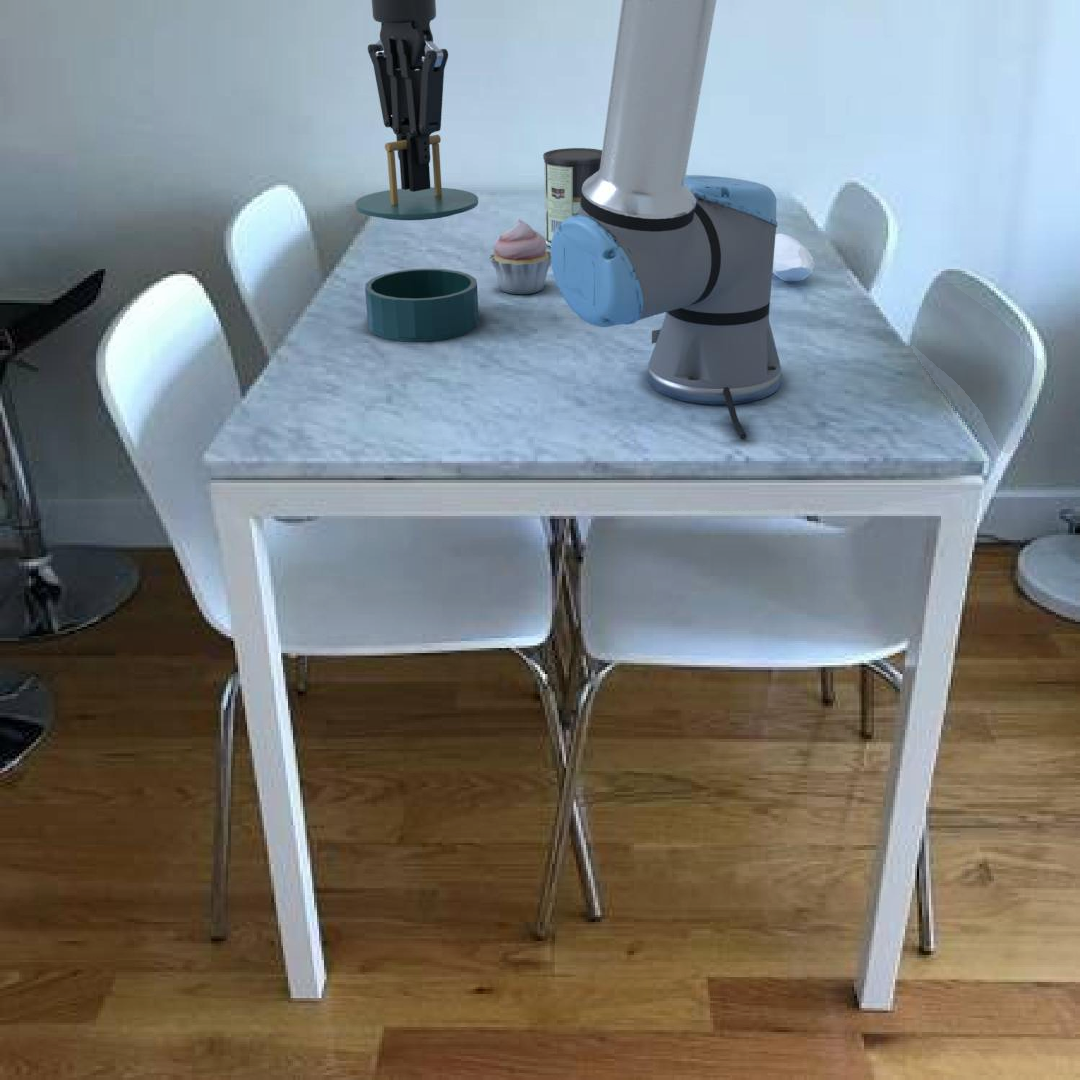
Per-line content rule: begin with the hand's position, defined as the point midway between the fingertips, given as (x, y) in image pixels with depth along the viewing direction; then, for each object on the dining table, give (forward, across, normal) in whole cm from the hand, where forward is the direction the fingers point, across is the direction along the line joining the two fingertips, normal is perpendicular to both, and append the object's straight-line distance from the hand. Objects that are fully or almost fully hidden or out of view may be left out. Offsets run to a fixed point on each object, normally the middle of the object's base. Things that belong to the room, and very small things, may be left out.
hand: (416, 188), depth 156 cm
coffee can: (+18, +16, -44) cm, 50 cm away
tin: (+18, 0, 0) cm, 18 cm away
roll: (+18, -22, -50) cm, 58 cm away
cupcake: (+18, +3, -20) cm, 27 cm away
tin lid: (+2, 0, 0) cm, 2 cm away
